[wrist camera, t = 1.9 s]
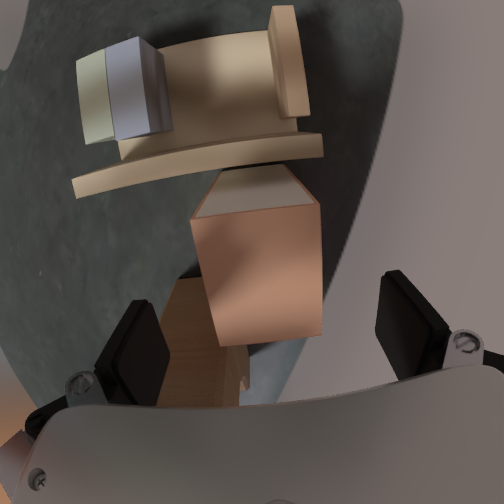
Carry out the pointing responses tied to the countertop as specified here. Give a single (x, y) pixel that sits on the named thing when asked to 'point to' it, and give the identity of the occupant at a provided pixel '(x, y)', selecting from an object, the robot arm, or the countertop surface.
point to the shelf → (196, 104)
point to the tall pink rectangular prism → (260, 256)
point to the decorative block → (199, 353)
